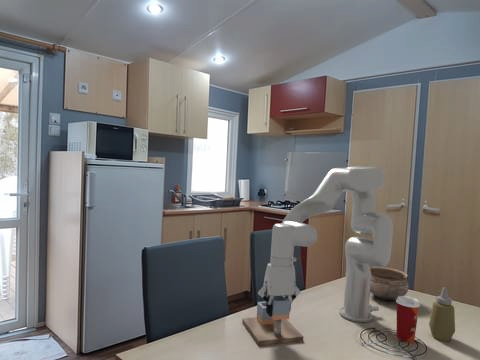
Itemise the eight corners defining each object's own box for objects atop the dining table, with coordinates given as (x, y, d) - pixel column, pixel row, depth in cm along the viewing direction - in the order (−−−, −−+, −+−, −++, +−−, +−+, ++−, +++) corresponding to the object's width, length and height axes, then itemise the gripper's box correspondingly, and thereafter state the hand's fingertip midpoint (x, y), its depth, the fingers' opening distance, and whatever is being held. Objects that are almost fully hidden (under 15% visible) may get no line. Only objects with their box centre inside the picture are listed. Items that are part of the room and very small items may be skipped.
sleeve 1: (270, 316, 129) (271, 301, 129) (276, 323, 124) (277, 307, 124) (256, 318, 127) (257, 302, 127) (261, 324, 122) (262, 308, 122)
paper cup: (420, 345, 116) (423, 304, 116) (396, 342, 118) (399, 301, 117) (413, 335, 124) (416, 296, 124) (391, 331, 126) (393, 294, 125)
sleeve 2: (282, 312, 119) (283, 294, 119) (289, 318, 114) (290, 301, 114) (267, 313, 118) (268, 295, 117) (273, 320, 112) (274, 301, 112)
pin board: (282, 318, 131) (283, 302, 131) (303, 340, 115) (304, 321, 115) (242, 322, 127) (243, 304, 126) (258, 345, 110) (259, 325, 110)
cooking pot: (351, 289, 170) (352, 265, 169) (382, 287, 175) (384, 264, 175) (387, 310, 146) (389, 281, 145) (422, 307, 152) (424, 279, 151)
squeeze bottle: (454, 345, 118) (458, 293, 117) (427, 338, 122) (431, 288, 121) (454, 336, 125) (458, 287, 124) (429, 330, 129) (432, 282, 128)
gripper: (299, 257, 121) (296, 308, 122) (253, 258, 116) (250, 311, 117) (309, 263, 114) (306, 317, 115) (261, 264, 109) (257, 321, 110)
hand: (278, 313), depth 116 cm, fingers closed on sleeve 2, 5 cm apart
